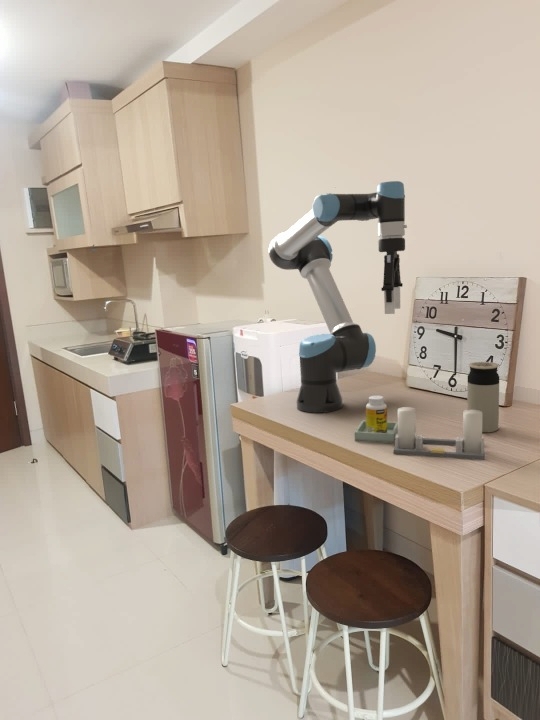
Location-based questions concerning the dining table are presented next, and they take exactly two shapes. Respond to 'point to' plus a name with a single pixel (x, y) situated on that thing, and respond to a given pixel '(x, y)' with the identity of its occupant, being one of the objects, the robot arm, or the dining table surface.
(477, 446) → the twin cylinder holder
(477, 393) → the travel mug
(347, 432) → the dining table surface
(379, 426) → the supplement bottle
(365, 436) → the tray
